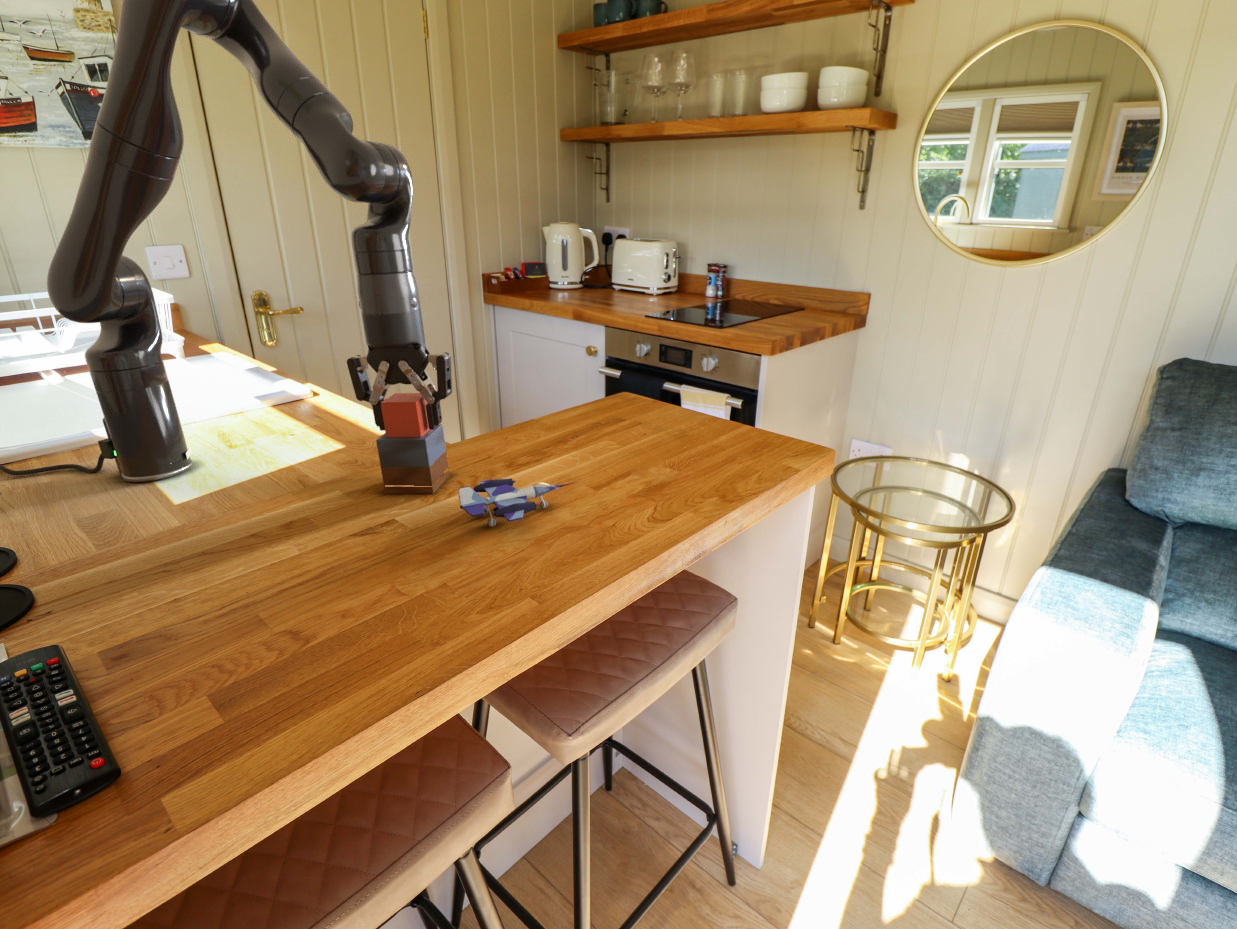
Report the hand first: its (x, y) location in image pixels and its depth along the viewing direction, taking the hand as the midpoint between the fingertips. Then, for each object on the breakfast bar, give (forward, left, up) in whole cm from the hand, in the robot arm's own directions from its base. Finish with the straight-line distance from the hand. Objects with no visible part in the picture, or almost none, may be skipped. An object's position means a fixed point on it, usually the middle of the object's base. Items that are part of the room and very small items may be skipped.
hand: (409, 428), depth 93 cm
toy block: (0, 0, 0) cm, 0 cm away
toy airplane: (+19, -6, -9) cm, 22 cm away
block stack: (0, 0, -9) cm, 9 cm away
